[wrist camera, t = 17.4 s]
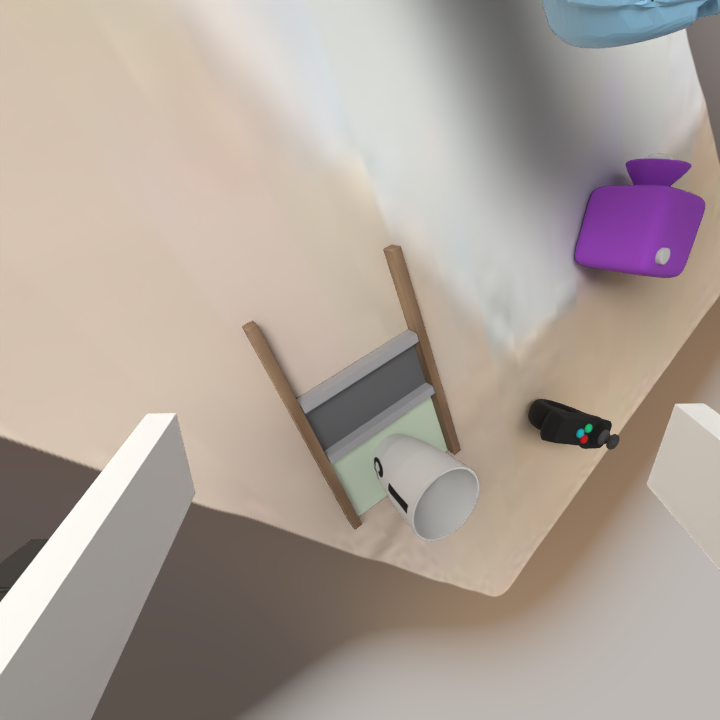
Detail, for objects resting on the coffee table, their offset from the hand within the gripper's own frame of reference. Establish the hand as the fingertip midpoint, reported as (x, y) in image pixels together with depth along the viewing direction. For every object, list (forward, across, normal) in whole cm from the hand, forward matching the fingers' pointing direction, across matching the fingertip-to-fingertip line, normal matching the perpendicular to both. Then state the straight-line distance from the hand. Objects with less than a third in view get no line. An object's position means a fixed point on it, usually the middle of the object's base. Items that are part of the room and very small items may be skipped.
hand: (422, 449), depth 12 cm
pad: (+31, +2, -24) cm, 39 cm away
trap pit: (+30, -1, -16) cm, 34 cm away
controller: (+42, +22, -26) cm, 54 cm away
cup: (+31, +2, -24) cm, 39 cm away
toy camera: (+48, +29, -1) cm, 56 cm away
